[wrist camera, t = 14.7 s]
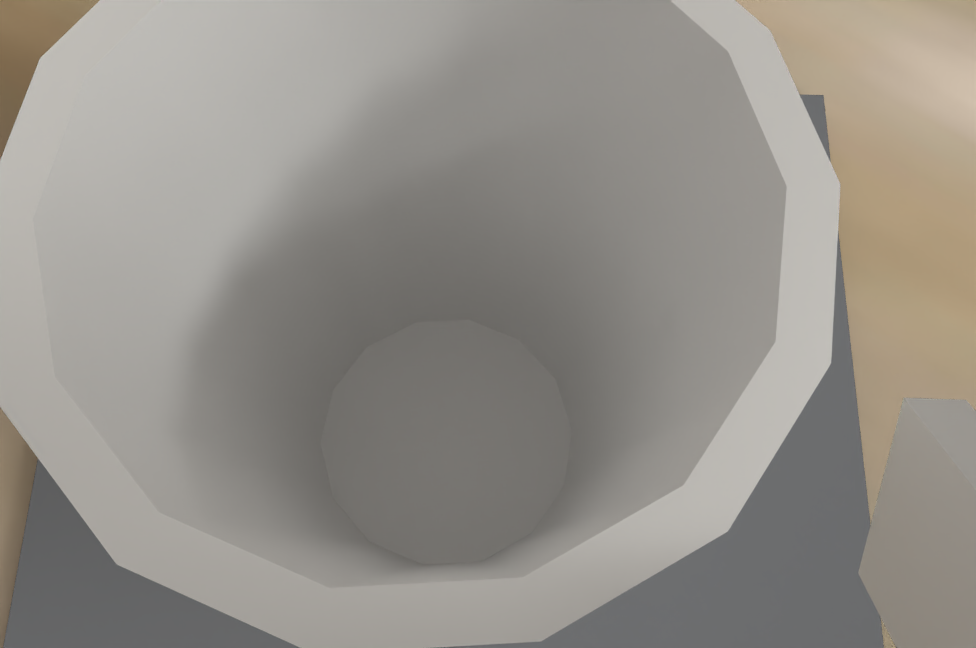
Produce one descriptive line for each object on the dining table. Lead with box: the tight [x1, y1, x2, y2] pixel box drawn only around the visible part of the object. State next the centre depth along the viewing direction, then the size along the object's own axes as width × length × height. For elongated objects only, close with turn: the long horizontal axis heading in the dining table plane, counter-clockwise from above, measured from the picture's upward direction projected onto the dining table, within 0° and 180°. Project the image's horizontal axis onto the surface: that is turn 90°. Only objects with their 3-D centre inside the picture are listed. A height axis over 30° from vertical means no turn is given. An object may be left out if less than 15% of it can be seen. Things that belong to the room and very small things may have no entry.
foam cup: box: [0, 0, 840, 648], centre depth 16 cm, size 10×9×13 cm
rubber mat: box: [3, 95, 884, 648], centre depth 23 cm, size 20×20×1 cm
